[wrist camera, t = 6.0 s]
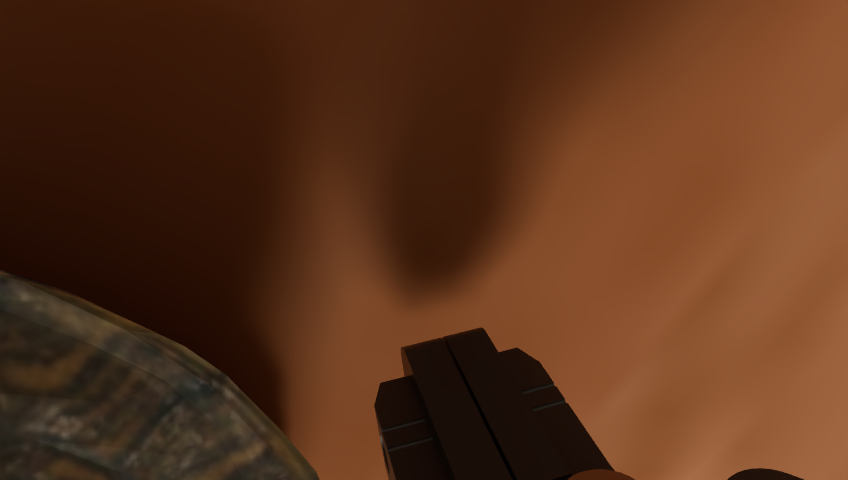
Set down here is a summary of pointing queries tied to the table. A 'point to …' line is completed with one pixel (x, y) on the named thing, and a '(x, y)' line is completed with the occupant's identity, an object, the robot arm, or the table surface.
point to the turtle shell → (120, 400)
